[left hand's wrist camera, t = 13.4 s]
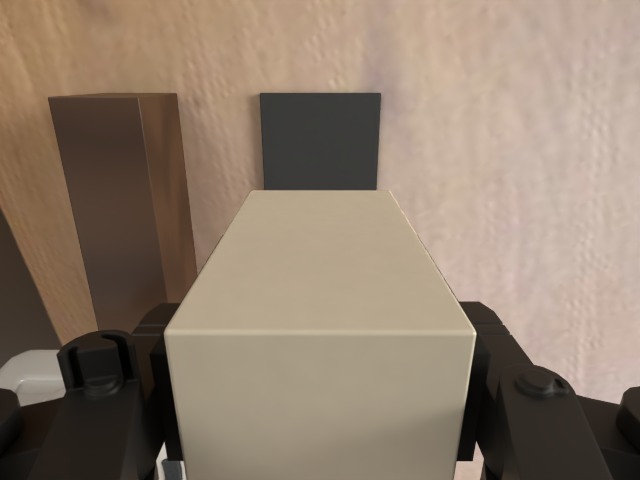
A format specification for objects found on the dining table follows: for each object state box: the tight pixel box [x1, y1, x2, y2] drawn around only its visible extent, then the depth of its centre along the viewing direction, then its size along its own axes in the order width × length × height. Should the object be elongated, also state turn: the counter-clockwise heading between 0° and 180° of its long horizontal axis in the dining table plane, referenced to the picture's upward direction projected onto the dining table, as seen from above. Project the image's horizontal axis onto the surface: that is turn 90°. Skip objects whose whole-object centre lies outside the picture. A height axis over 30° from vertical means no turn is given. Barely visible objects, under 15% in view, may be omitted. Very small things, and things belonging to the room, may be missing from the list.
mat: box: [260, 93, 381, 190], centre depth 37 cm, size 10×10×1 cm
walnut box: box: [48, 93, 197, 335], centre depth 36 cm, size 26×6×8 cm, turn 0°
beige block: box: [164, 190, 476, 480], centre depth 12 cm, size 5×5×9 cm
